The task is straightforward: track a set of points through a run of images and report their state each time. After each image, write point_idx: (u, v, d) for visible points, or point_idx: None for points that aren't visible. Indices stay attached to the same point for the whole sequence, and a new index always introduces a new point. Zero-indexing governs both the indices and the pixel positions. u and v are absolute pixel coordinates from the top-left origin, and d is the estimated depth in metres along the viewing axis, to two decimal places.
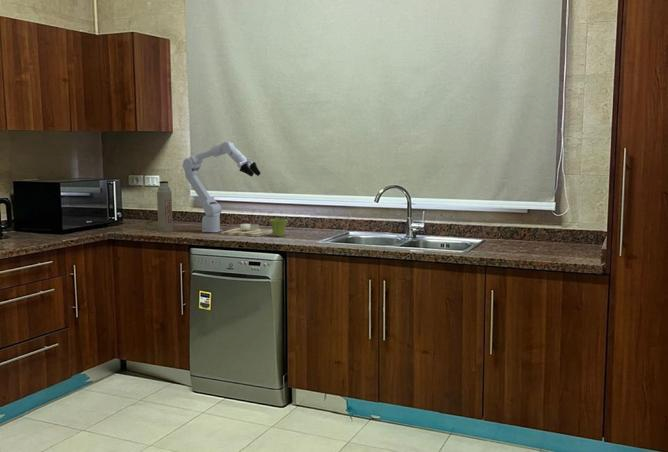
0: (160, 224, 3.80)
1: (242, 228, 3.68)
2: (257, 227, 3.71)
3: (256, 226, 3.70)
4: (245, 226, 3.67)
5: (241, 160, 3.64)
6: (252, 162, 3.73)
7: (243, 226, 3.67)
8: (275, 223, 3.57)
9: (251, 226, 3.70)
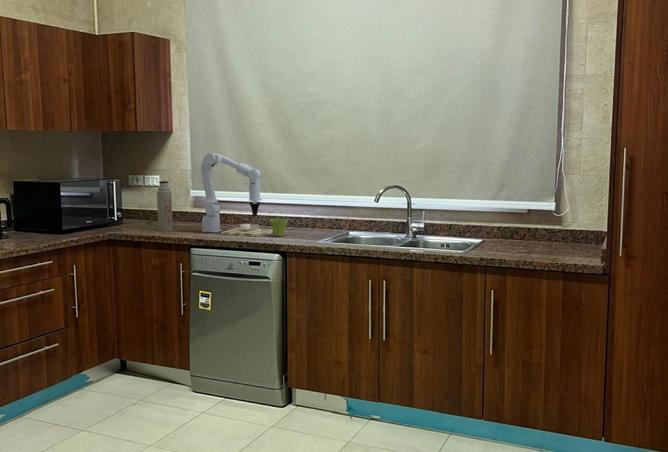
0: (160, 224, 3.80)
1: (242, 228, 3.68)
2: (257, 227, 3.71)
3: (256, 226, 3.70)
4: (245, 226, 3.67)
5: (256, 196, 3.71)
6: None
7: (243, 226, 3.67)
8: (275, 223, 3.57)
9: (251, 226, 3.70)
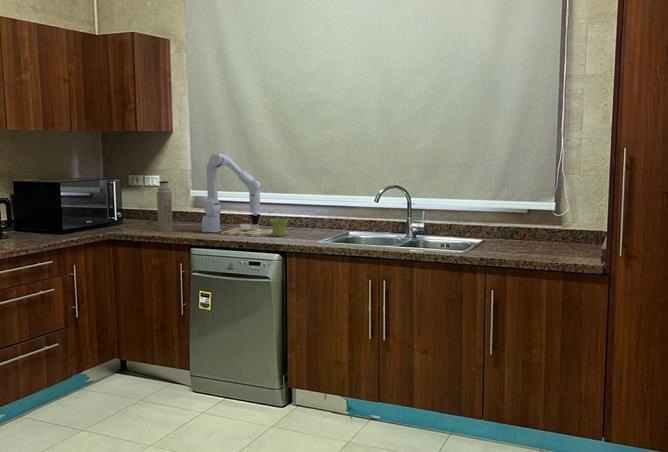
0: (160, 224, 3.80)
1: (242, 228, 3.68)
2: (257, 227, 3.71)
3: (256, 226, 3.70)
4: (245, 226, 3.67)
5: (256, 208, 3.68)
6: None
7: (243, 226, 3.67)
8: (275, 223, 3.57)
9: (251, 226, 3.70)
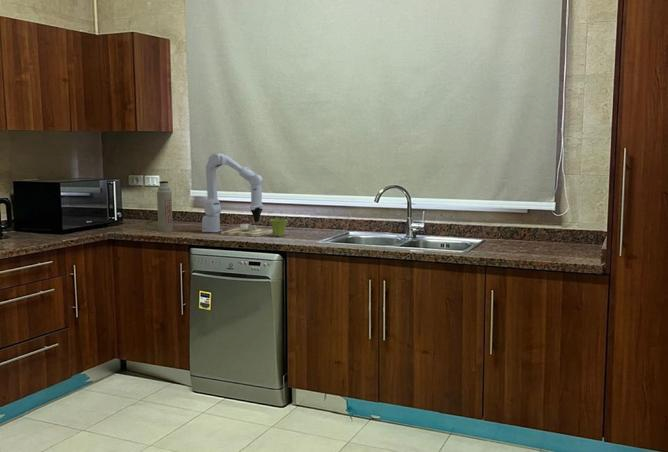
0: (160, 224, 3.80)
1: (240, 228, 3.69)
2: (253, 228, 3.66)
3: (253, 227, 3.66)
4: (242, 226, 3.68)
5: (256, 202, 3.67)
6: (262, 204, 3.76)
7: (240, 226, 3.69)
8: (275, 223, 3.57)
9: (249, 227, 3.68)
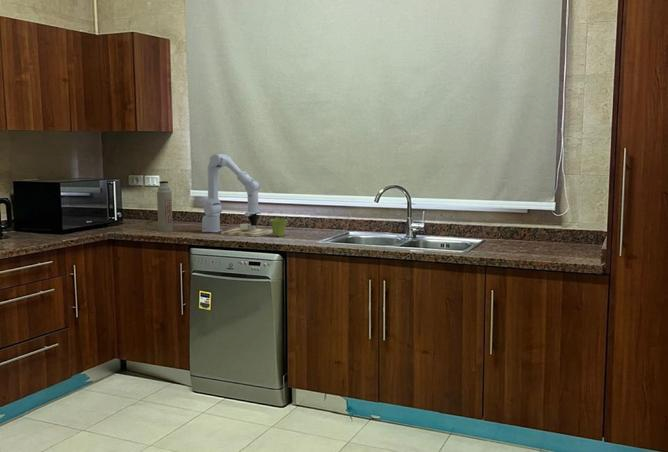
0: (160, 224, 3.80)
1: (240, 228, 3.70)
2: (252, 228, 3.65)
3: (252, 227, 3.66)
4: (241, 226, 3.68)
5: (252, 209, 3.63)
6: None
7: (240, 226, 3.69)
8: (275, 223, 3.57)
9: (248, 227, 3.67)
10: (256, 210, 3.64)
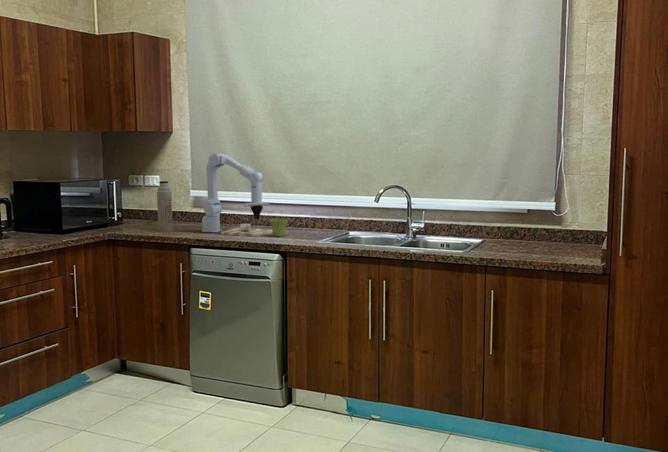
0: (160, 224, 3.80)
1: None
2: (248, 229, 3.64)
3: (247, 227, 3.64)
4: (240, 226, 3.69)
5: (253, 200, 3.64)
6: (268, 203, 3.70)
7: (240, 225, 3.70)
8: (275, 223, 3.57)
9: (246, 227, 3.67)
10: (257, 201, 3.64)
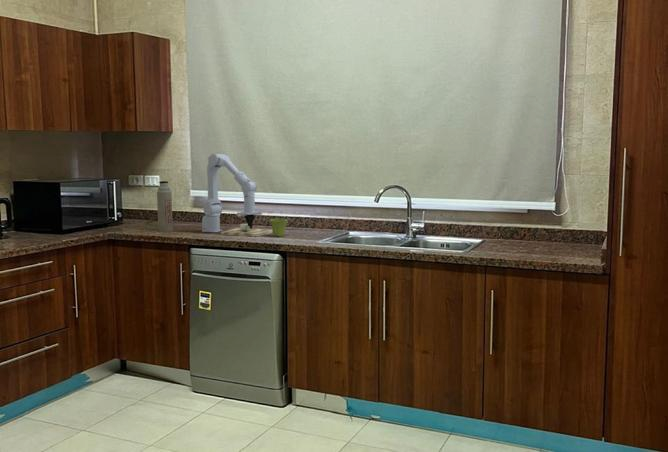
0: (160, 224, 3.80)
1: None
2: (247, 229, 3.64)
3: (246, 227, 3.64)
4: (240, 226, 3.69)
5: (246, 209, 3.62)
6: (261, 212, 3.68)
7: (240, 225, 3.70)
8: (275, 223, 3.57)
9: (245, 227, 3.67)
10: (250, 211, 3.62)
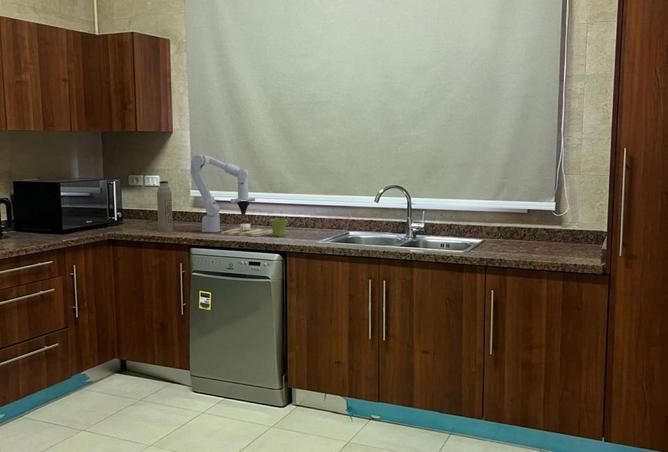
0: (160, 224, 3.80)
1: None
2: None
3: None
4: None
5: (239, 196, 3.74)
6: (254, 198, 3.80)
7: None
8: (275, 223, 3.57)
9: None
10: (243, 197, 3.74)
